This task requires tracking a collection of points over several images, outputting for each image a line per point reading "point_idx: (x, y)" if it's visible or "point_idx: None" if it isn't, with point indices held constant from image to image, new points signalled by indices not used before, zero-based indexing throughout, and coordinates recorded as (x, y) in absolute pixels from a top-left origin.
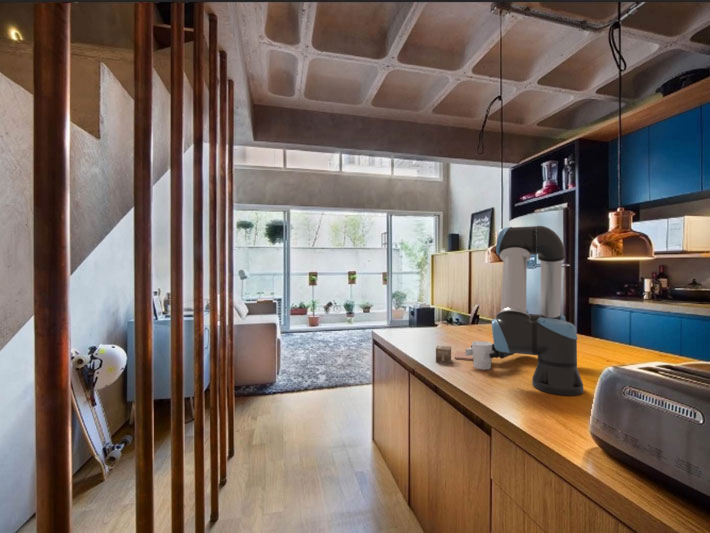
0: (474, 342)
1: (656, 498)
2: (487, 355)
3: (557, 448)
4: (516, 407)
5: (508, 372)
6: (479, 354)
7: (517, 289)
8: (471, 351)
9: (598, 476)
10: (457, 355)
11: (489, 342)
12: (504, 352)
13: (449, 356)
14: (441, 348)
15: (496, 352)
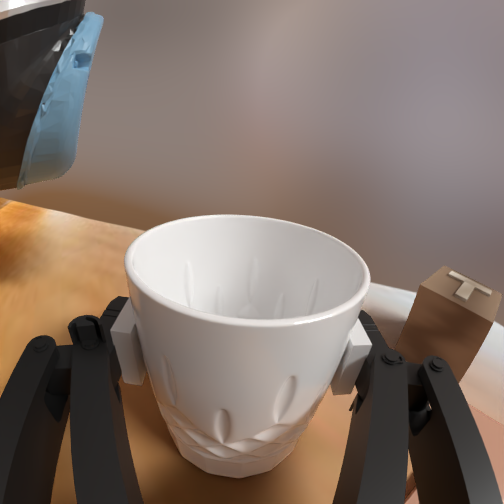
0: (352, 265)
1: None
2: None
3: (21, 204)
4: (43, 229)
5: None
6: (217, 293)
7: None
8: None
9: (7, 199)
10: (499, 433)
11: (204, 313)
12: (16, 378)
13: (407, 319)
14: (446, 276)
15: (89, 339)
